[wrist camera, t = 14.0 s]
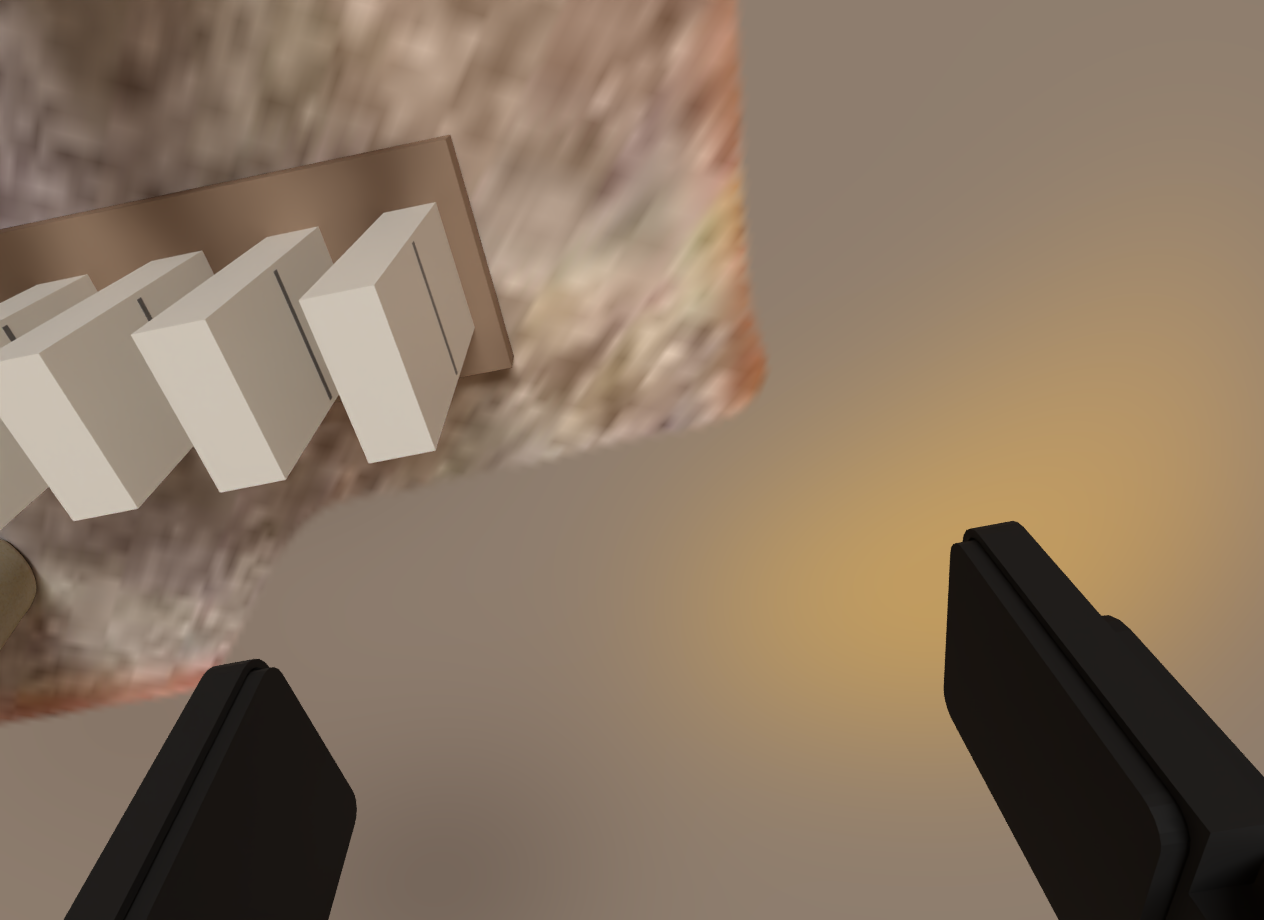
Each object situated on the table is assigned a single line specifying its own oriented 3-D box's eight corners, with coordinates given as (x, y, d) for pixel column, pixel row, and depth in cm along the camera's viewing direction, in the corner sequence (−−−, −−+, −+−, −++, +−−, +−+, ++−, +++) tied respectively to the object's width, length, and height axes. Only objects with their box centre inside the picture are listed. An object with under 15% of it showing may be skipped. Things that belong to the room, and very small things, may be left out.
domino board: (6, 457, 33) (-12, 471, 32) (-138, 258, 28) (-164, 267, 27) (513, 356, 32) (511, 367, 31) (450, 134, 28) (445, 139, 27)
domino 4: (426, 337, 30) (368, 463, 22) (382, 212, 28) (297, 300, 19) (475, 327, 30) (436, 450, 22) (436, 201, 28) (374, 284, 19)
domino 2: (212, 380, 31) (72, 521, 22) (150, 261, 28) (-36, 368, 19) (260, 370, 31) (138, 508, 22) (202, 250, 28) (39, 353, 19)
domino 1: (107, 401, 31) (-73, 549, 22) (36, 284, 28) (-198, 401, 20) (155, 391, 31) (-7, 536, 22) (88, 274, 28) (-125, 386, 20)
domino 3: (318, 358, 30) (219, 492, 22) (266, 237, 28) (130, 334, 19) (367, 349, 30) (286, 479, 22) (318, 226, 28) (205, 319, 19)
